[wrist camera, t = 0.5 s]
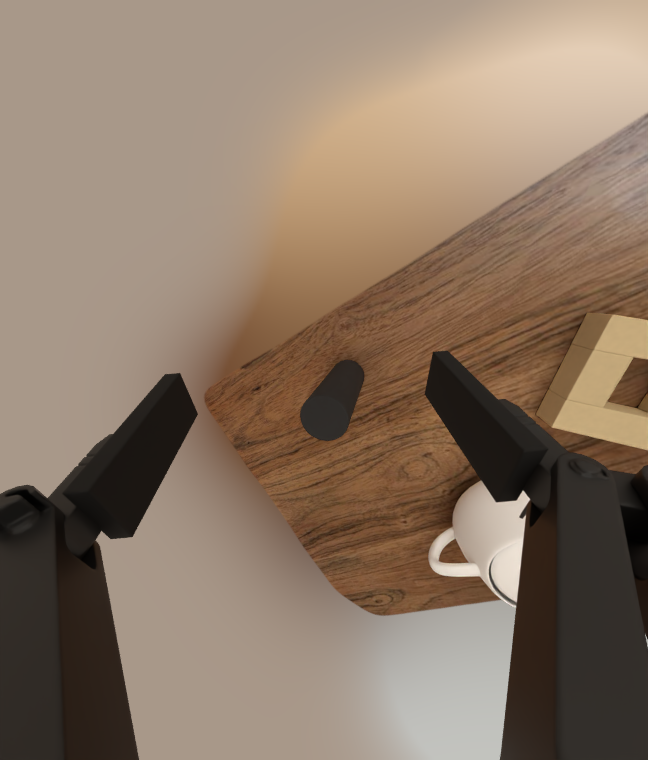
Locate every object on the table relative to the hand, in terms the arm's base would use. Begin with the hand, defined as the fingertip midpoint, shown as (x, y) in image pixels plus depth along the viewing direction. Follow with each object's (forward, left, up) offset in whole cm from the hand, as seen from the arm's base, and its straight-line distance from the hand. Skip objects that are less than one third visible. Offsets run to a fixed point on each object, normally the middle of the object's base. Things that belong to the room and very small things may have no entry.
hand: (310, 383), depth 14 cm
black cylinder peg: (+5, 0, -17) cm, 18 cm away
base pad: (-1, +26, -17) cm, 31 cm away
